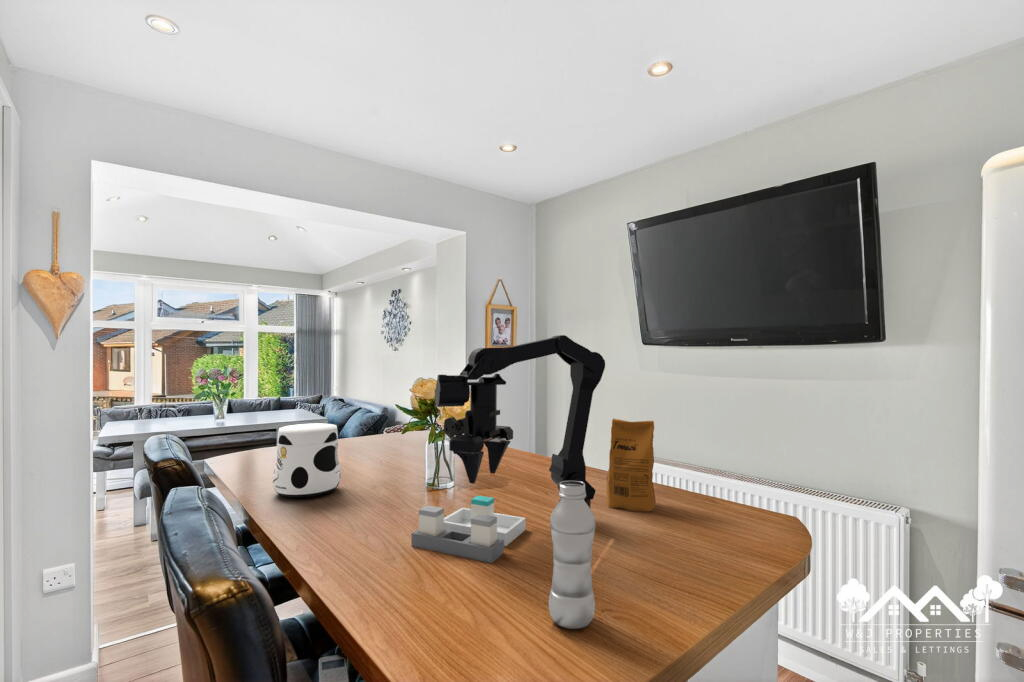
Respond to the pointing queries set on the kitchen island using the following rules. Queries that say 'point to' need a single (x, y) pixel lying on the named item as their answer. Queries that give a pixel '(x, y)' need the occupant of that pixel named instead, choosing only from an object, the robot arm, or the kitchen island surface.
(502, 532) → the tray
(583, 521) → the plastic bottle
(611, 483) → the coffee package
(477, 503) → the block
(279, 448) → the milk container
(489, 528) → the fuse
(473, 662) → the kitchen island surface
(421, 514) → the block
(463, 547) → the fuse holder
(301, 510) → the kitchen island surface
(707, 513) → the kitchen island surface
